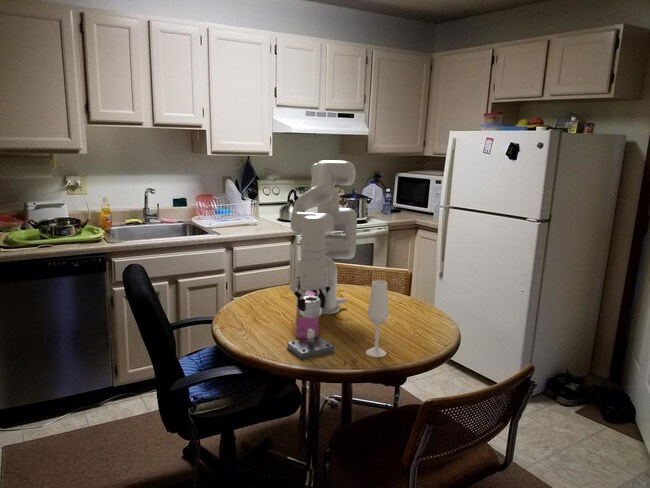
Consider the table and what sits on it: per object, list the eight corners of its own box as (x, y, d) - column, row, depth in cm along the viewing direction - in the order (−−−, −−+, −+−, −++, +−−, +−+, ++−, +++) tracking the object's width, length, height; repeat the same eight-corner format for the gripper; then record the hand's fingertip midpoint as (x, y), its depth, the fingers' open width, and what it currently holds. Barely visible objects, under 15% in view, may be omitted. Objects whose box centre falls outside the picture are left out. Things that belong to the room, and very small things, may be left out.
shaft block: (318, 341, 165) (318, 322, 164) (333, 351, 157) (334, 331, 155) (287, 347, 159) (287, 328, 158) (301, 359, 151) (302, 338, 149)
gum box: (296, 314, 191) (296, 282, 188) (315, 314, 191) (316, 282, 189) (296, 338, 167) (296, 301, 165) (318, 338, 168) (319, 301, 165)
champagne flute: (383, 348, 161) (387, 279, 156) (388, 356, 154) (392, 285, 150) (363, 348, 160) (367, 279, 155) (368, 357, 153) (371, 285, 149)
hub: (314, 308, 160) (314, 294, 159) (324, 315, 155) (325, 300, 154) (296, 312, 157) (297, 297, 156) (306, 318, 151) (307, 303, 150)
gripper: (329, 250, 159) (328, 301, 163) (282, 254, 150) (282, 309, 154) (342, 254, 153) (340, 307, 156) (294, 259, 144) (293, 316, 147)
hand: (311, 308), depth 155 cm, fingers closed on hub, 6 cm apart
